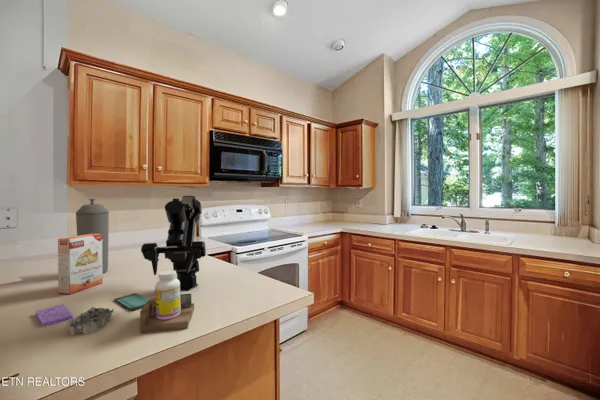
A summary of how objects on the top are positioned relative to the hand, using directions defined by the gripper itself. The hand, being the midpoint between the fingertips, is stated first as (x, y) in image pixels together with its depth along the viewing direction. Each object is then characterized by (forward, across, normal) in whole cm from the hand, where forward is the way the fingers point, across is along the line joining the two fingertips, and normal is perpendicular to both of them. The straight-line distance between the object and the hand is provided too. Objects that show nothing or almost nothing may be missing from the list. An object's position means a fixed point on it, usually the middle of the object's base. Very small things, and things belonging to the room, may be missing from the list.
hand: (171, 273), depth 86 cm
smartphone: (0, +15, -20) cm, 25 cm away
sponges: (+4, +35, -16) cm, 39 cm away
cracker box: (-15, +40, -35) cm, 55 cm away
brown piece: (+11, 0, -7) cm, 14 cm away
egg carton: (+10, +21, -9) cm, 25 cm away
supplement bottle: (+11, 0, -5) cm, 12 cm away
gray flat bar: (+7, -1, -9) cm, 11 cm away
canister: (-31, +46, -51) cm, 75 cm away
